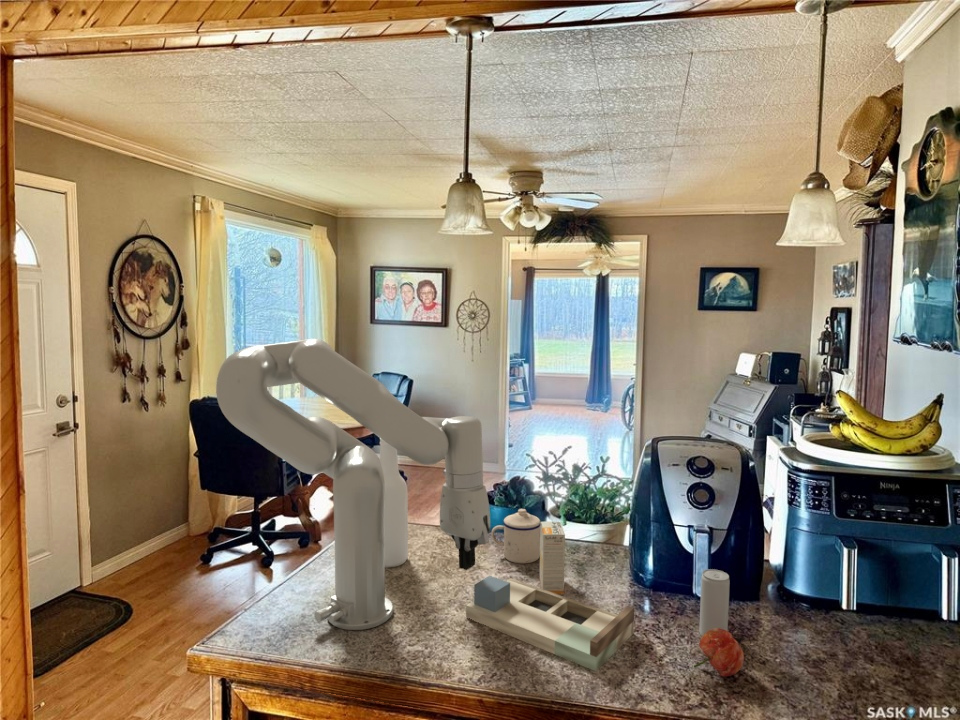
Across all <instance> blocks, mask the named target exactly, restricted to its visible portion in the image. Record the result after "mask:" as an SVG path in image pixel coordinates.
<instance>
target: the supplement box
mask: <svg viewBox="0 0 960 720" xmlns="http://www.w3.org/2000/svg"><path fill="white" fill-rule="evenodd" d="M540 522H541V524H540V556H539V582H540V587H541V589H543V590H546V591H549V592H552V593H555V594H558V595H564V594H565V593H564V591H565V558H566V557H565V554H566V548H565V547H566V534H565V531H564V528H563V525H562V522H561V521H540Z"/></svg>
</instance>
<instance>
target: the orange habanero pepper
mask: <svg viewBox="0 0 960 720" xmlns="http://www.w3.org/2000/svg"><path fill="white" fill-rule="evenodd" d="M699 639H700V640H699V642H698V643H699V648H700V650H701V651H702V652H703V654H704V655H705V656H706V658H705V659H704V660H702V661H701V662H698V663H696V664H695V665H693V668H697V667H698V666H699V667H700V666H701V665H703V664H705V663H707V662H708V661H709V664H710V666H711V667H712V668H713V669H714V670H715V671H716V672H717V673H718V675H719V676H721V677H724V678H725V677H731V676H733V675H736V674H737V673H738V672H739V671H740V670H741V668H743V665H744V659H745V653H744V651H743V648H742V647H741V644H742V642H743V641H746V640H747V637H746V636H744V635H742V636H740V637H736V636H733V634H732V633H730V632H729V630H727V631H726V630H724V629H720V628H715V629H711V630H709V631H707V632H706V633H705V634H704V635H703V636H701V638H699Z"/></svg>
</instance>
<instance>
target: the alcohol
mask: <svg viewBox="0 0 960 720" xmlns="http://www.w3.org/2000/svg"><path fill="white" fill-rule="evenodd" d="M379 446H380V447H379V457H378V458H379V460H380V462H381V466H382V470H383V474H384V480H385V503H384V553H385V568H395V567H398V566H401V565H403V564H404V563H406V561H407V559H408V557H409V544H408V543H409V536H408V535H409V534H408V533H409V529H408V528H409V527H408V526H409V525H408V523H409V521H408V520H409V519H408V518H409V517H408V516H409V515H408V514H409V511H408V509H409V507H408V500H409V497H408V496H409V495H408V494H409V493H408V490H409V489H408V485H407V482H406V480H405V479H404V478H403V476H402V475H401V474H400V471H399V460H398V450H397V449H395V448H394V447H392V446H391V445H389V444H388V443H386V442H385V441H384V440H382V439H381V438H380V437H379Z"/></svg>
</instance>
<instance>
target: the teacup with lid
mask: <svg viewBox="0 0 960 720" xmlns="http://www.w3.org/2000/svg"><path fill="white" fill-rule="evenodd" d="M541 522H542V521H541V520H540V518H539V517H537V516H536V515H533V514H530V513H529V512H527V510H526V509H525V508H519V509H518V510H517V512H515V513H512V514H509V515H506V517H504V519H503V521H502V524H503V525H496V526H494V527H493V528H492V529H491V539H492V541H493V542H494V544H495V545H497V546H500V547H503V556H504V558H505V559H506V560H508V561H509V562H511V563H515V564H530V563H531V564H532V563H534V562H536V561H538V559H540V524H541ZM497 530H503V541H499V540H498V539H497V538H496V534H495V532H496V531H497Z"/></svg>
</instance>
